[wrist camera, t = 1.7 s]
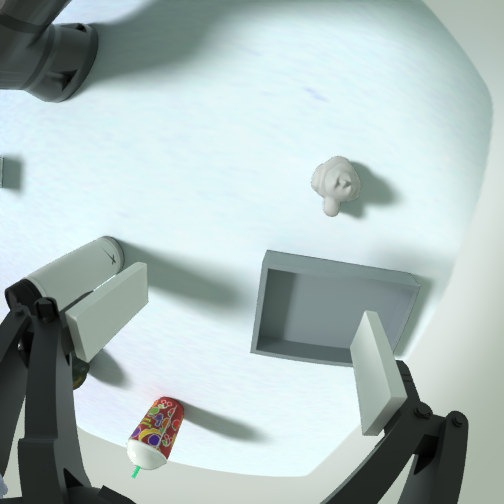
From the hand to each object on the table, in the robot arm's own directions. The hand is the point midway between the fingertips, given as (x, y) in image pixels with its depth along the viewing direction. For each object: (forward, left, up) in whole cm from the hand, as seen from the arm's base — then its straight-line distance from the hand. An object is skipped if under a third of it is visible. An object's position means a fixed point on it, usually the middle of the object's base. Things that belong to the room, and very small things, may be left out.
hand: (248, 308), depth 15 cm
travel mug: (+8, -25, -19) cm, 33 cm away
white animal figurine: (-6, +6, -19) cm, 21 cm away
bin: (+10, +9, -19) cm, 23 cm away
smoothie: (+41, -16, -19) cm, 48 cm away
